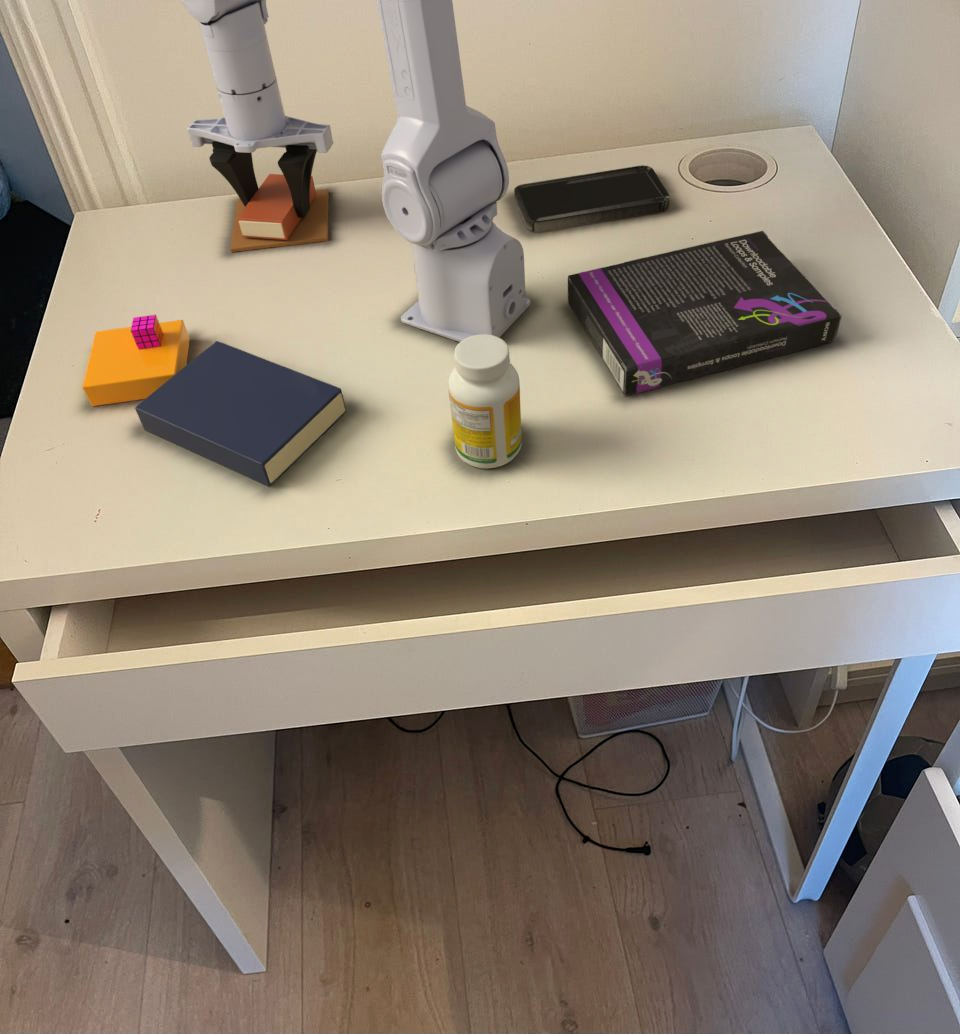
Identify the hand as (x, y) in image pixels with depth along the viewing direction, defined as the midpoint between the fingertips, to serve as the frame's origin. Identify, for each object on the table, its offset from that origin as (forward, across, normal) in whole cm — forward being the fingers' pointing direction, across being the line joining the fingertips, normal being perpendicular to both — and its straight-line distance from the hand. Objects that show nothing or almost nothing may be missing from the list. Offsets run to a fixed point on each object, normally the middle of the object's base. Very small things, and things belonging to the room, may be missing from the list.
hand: (279, 211), depth 101 cm
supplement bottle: (+1, +30, -30) cm, 43 cm away
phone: (+1, +32, +7) cm, 33 cm away
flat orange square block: (+1, -4, -26) cm, 26 cm away
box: (+1, +44, -12) cm, 46 cm away
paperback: (0, 0, 0) cm, 0 cm away
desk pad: (+1, 0, 0) cm, 1 cm away
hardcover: (+1, +9, -30) cm, 32 cm away
